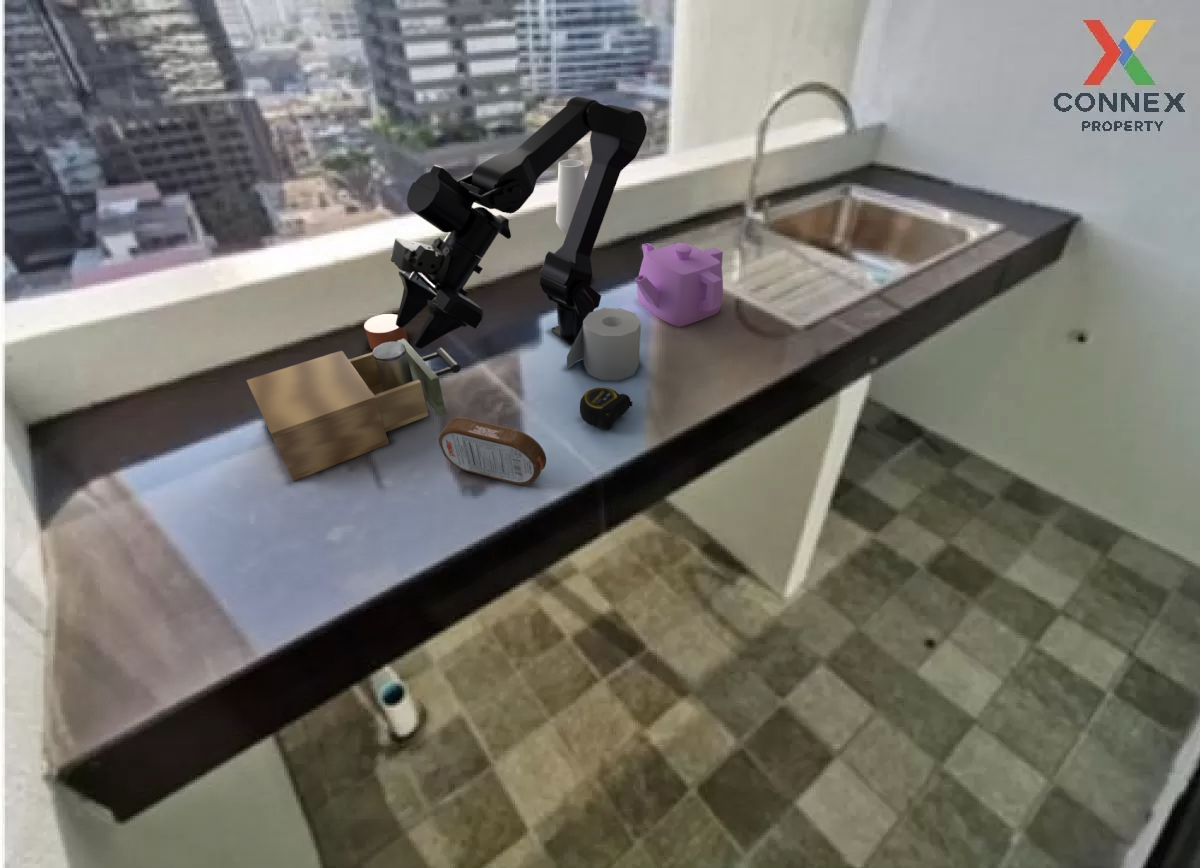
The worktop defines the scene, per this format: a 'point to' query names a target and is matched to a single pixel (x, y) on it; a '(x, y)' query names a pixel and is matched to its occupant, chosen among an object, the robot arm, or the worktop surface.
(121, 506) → the worktop surface
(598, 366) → the toilet tissue
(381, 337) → the stand
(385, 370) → the cylinder
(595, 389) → the tape measure
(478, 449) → the tin
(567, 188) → the champagne flute
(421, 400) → the drawer
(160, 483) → the worktop surface
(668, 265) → the teakettle
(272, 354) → the worktop surface
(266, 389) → the cabinet
